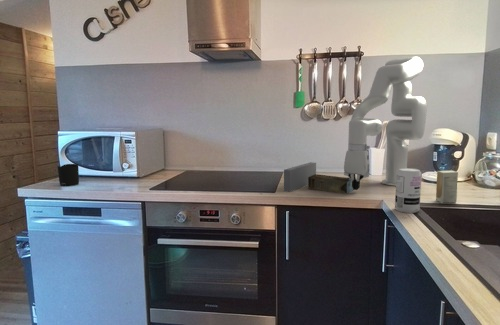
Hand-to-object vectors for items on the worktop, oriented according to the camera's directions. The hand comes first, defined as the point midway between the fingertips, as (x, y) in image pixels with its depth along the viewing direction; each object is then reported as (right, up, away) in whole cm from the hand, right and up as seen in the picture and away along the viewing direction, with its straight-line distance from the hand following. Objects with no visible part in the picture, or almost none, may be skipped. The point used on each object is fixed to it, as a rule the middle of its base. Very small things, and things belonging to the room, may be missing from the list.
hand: (355, 189), depth 159 cm
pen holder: (-138, 0, +24) cm, 140 cm away
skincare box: (+31, -4, -15) cm, 35 cm away
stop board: (-22, 0, +15) cm, 27 cm away
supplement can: (+11, -6, -27) cm, 30 cm away
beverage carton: (-10, -1, +8) cm, 12 cm away
